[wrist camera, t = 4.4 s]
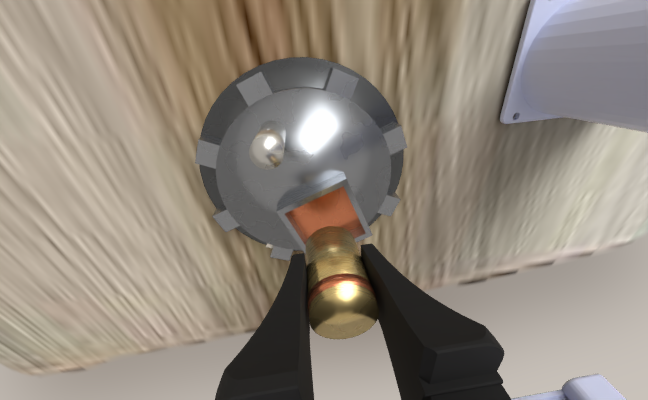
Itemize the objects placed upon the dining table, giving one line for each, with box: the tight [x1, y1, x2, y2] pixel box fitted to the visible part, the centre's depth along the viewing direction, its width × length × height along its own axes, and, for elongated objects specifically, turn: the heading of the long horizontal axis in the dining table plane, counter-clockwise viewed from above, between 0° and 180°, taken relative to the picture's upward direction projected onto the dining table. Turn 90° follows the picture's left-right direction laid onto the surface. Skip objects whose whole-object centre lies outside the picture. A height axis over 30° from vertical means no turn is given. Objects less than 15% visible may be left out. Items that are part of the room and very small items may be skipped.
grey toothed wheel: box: [195, 68, 407, 261], centre depth 16 cm, size 14×14×6 cm
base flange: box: [200, 57, 403, 251], centre depth 18 cm, size 15×15×1 cm
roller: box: [305, 226, 379, 339], centre depth 13 cm, size 3×3×5 cm
